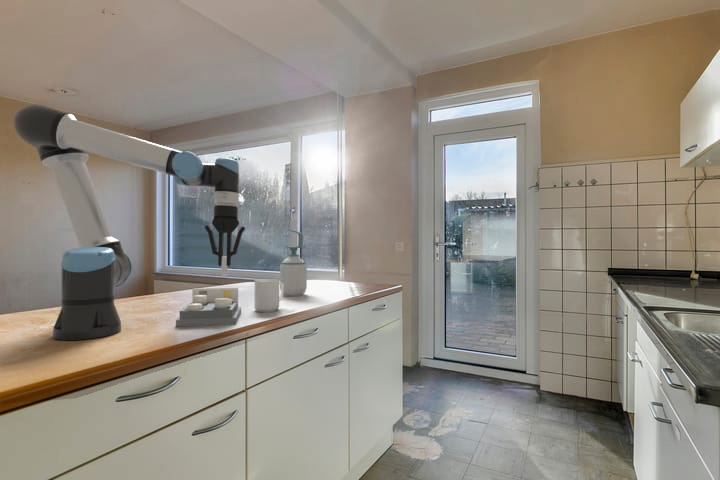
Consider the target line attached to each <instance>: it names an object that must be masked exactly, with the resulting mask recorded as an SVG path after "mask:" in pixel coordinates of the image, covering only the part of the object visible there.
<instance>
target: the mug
mask: <svg viewBox="0 0 720 480" xmlns="http://www.w3.org/2000/svg"><path fill="white" fill-rule="evenodd" d="M280 284H281V290H280ZM284 296H285V295H284V283H280V279H279V278H276V279H275V278H260V279H254V299H253V300H254V306H253V307H254V309H255V311H257V312H259V313H271V312H277V310H278V309H279V308H280V302H281V300H283V298H284Z"/></svg>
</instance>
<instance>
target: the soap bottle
mask: <svg viewBox="0 0 720 480" xmlns="http://www.w3.org/2000/svg"><path fill="white" fill-rule="evenodd" d="M288 231H291V232H293V233H296V234H297V236H298V237H297V238H298V244H297V246H287V247H286V249H289V251H290V253H291V254H288V255H287V258H286V259H283V261H282V262H280V266H279V283H284V295H283V296H285V295H286V296H285V297H301V296H303V295H304V294H305V293H306V291H307V283H308V281H307V280H308V279H307V276H308V275H307V274H308V273H307V272H308V271H307V269H308V268H307V267H308V265H307V262H306V261H304V259H302V258H301V257H300V254H297V251H298V249H300V248H302V247H303V232H301V231H298V230H297V229H296V230H295V229H292V228H288ZM279 291H281V284H279ZM300 295H301V296H300Z"/></svg>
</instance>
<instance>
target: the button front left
mask: <svg viewBox="0 0 720 480" xmlns="http://www.w3.org/2000/svg"><path fill="white" fill-rule="evenodd" d="M186 306H187V310H202V304H200V303H194V304H190V303H188V304H187V305H186Z"/></svg>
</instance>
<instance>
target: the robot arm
mask: <svg viewBox="0 0 720 480" xmlns="http://www.w3.org/2000/svg"><path fill="white" fill-rule="evenodd" d="M13 129H14V131H15V132H16V135H17V136H18V137H19V138H20V139H21V140H23V141H24V142H25V143H26V144H28V145H31V146H32V147H35V149H36V151H37V153H38V156H39V160H40V161H41V164H42V165H43V166H45V167H48V168H49V169H51V172H52V175H53V177H54V180H55V184H56V186H57V189H58V191H59V193H60V196H61V200H62V202H63V204H64V207H65V210H66V212H67V216H68V219H69V221H70V223H71V224H70V225H72V229H73V232H74V234H75V236H76V239H77V242H78V245H79V246H78V247H75V248H71V249H68V250H65V251H64V252H63V254H62V257H61V262H60V266H61V308H60V310H59V313H58V315H57V318H56V321H55V324H54V326H53V327H52V338H53V339H54V340H59V341H79V340H80V341H81V340H89V339H97V338H103V337H106V336H110V335H114V334H117V333H119V332H121V331H122V321H121V318H120V315H119V313H118V309H117V308H116V305H115V288H117V287H120V286H121V285H123V284H124V283H125V282H127V280H128V279H129V278H130V277H131V275H132V272H133V262H132V259H131V258H130V256H129V255H127V253H125V251H124V249H123V247H122V243H121V241H120V240H119V239H117V238H114V236H113V235H112V232H111V230H110V226H109V224H108V222H107V220H106V216H105V214H104V211H103V208H102V206H101V203H100V200H99V197H98V195H97V192H96V189H95V186H94V183H93V181H92V179H91V178H92V177H91V175H90V172H89V169H88V167H87V164H86V163H87V161H88V160H89V158H90V156H89V155H90V153H91V154H94V155H97V156H101V157H105V158H108V159H112V160H116V161H119V162H121V163H122V162H123V163H127V164H129V165H133V166H137V167H140V168H144V169H147V170H152V171H155V172H159V173H162V174H164V175H165V174H166V175H169V176H172V177H173V178H174V181H175V184H177V185H179V186H186V187H190V186H192V187H210V188H212V187H213V188H214V195H213V197H214V199H213V200H214V201H213V204H214V207H213V219H212V220H211V223H209V224H208V225H207V224H206V225H205V226H204V229H205V230H206V232H207V234H208V237H209V242H210V246H211V247H210V248H211V251H212V254H213V255H216V256H217V258H218V260H217V261H218V262H217V265H218V267H221V274H220V275H221V277H227V276H228V267H230V266H231V264H232V262H231V261H232V256H235V255H237V254H238V253H237V252H238V249H239V246H240V242H241V239H242V235H243V234H244V233H245V231H246V227H245V226H243V225H241V224H240V221H239V220H238V219H239V217H238V216H239V213H238V212H239V207H238V206H239V183H240V182H239V181H240V168H239V167H240V166H239V162H238V161H237V160H235V159H233V158H228V157H218V158H216V159H215V161H214V163H204V162H202V160H201V158H200V157H199V156H198V155H196V154H195V153H194V152H192V151H187V150H186V151H180V150H177V149H174V148H170V147H167V146H165V145H164V146H163V145H160V144H157V143H154V142H150V141H147V140H144V139H141V138H137V137H134V136H130V135H128V134H125V133H121V132H118V131H115V130H110V129H107V128H103V127H101V126H97V125H94V124H90V123H87V122H84V121H80V120H77V118H76V117H75V115H73V114H70V113H67V112H64V111H61V110H58V109H55V108H52V107H50V106H48V105H44V104H38V103H37V104H36V103H35V104H28V105H25V106H23V107H21V108H19V109H18V111H17V112H16V113H15V114H14V117H13ZM214 229H215V230H216V231H217V232H218V247H217V244H216V243H217V242H216V239H215V235H214V232H213V230H214ZM236 229H237V231H238V232H237V234H236V239H235V241H234V242H235V243H234V245H233V248H232V238H233V237H232V235H233V233H234V231H235V230H236ZM225 234H226V254H225V256H224V243H225V242H224V238H225V237H224V236H225Z"/></svg>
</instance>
